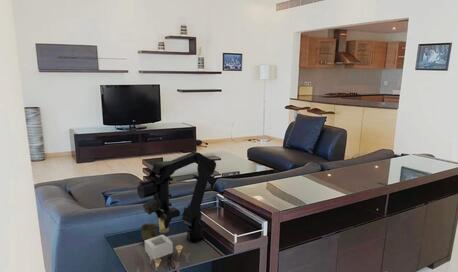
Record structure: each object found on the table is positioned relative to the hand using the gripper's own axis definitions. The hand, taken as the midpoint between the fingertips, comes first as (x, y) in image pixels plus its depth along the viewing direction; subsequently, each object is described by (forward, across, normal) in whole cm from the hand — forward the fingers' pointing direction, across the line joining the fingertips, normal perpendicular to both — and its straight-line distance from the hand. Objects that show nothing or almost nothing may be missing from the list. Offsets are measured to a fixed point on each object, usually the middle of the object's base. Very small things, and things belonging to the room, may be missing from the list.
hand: (163, 226), depth 144 cm
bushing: (+2, 0, 0) cm, 2 cm away
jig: (+12, -2, -2) cm, 13 cm away
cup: (+12, -12, -1) cm, 18 cm away
